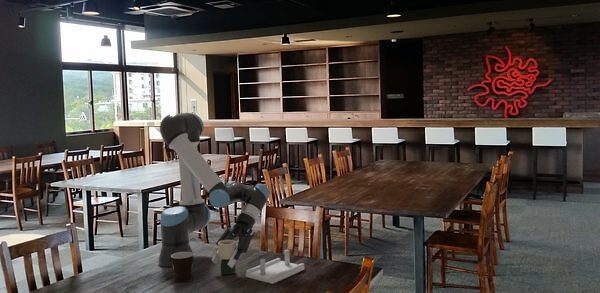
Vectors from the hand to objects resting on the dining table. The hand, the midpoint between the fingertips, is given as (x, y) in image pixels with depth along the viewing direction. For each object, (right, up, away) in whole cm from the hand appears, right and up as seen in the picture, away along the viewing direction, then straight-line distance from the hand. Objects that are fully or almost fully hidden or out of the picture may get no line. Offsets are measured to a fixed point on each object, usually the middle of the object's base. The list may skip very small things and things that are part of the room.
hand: (221, 264), depth 212 cm
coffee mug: (-14, -6, -2) cm, 15 cm away
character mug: (+2, -5, +3) cm, 6 cm away
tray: (+22, -4, +2) cm, 22 cm away
